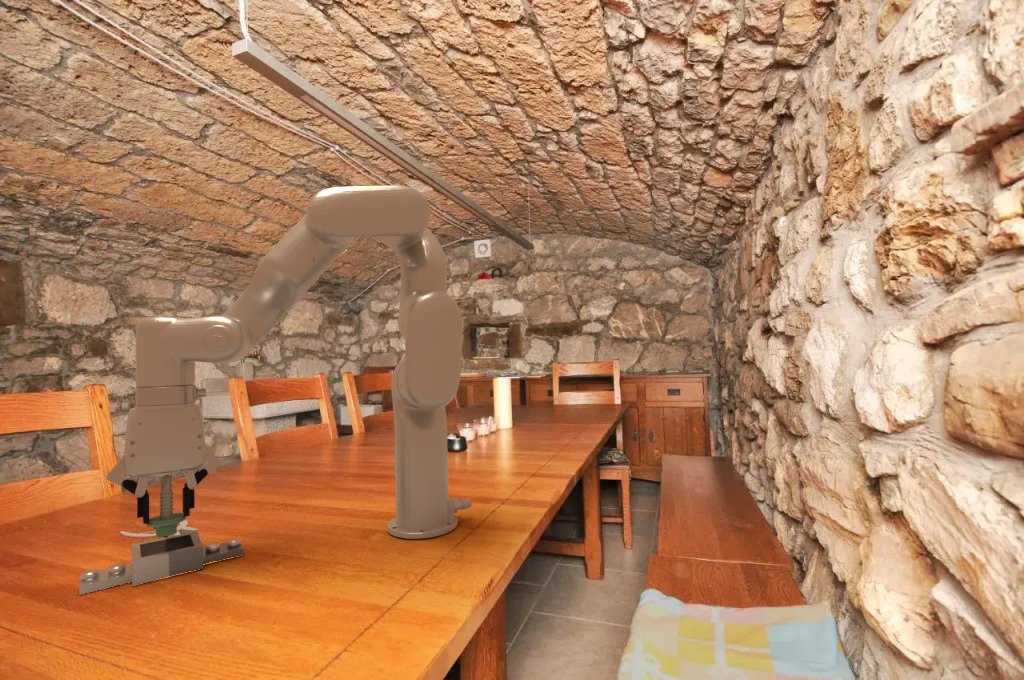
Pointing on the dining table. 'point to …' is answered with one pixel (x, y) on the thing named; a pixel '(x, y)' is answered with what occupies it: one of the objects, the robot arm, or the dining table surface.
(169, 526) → the screw
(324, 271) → the robot arm
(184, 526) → the pliers
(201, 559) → the riveted metal bracket
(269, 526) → the dining table surface
